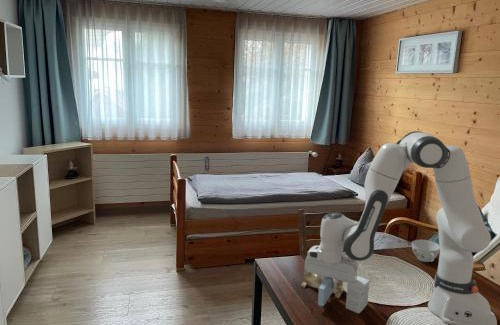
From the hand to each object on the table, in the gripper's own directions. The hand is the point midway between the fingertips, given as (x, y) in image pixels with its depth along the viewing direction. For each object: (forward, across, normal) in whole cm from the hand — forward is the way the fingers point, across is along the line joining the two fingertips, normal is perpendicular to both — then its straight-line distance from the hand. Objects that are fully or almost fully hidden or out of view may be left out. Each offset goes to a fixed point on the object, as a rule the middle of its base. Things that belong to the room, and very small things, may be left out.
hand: (329, 286), depth 147 cm
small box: (+6, -11, 0) cm, 12 cm away
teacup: (+7, -29, -57) cm, 64 cm away
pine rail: (+5, +5, -6) cm, 9 cm away
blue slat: (+3, 0, +4) cm, 5 cm away
